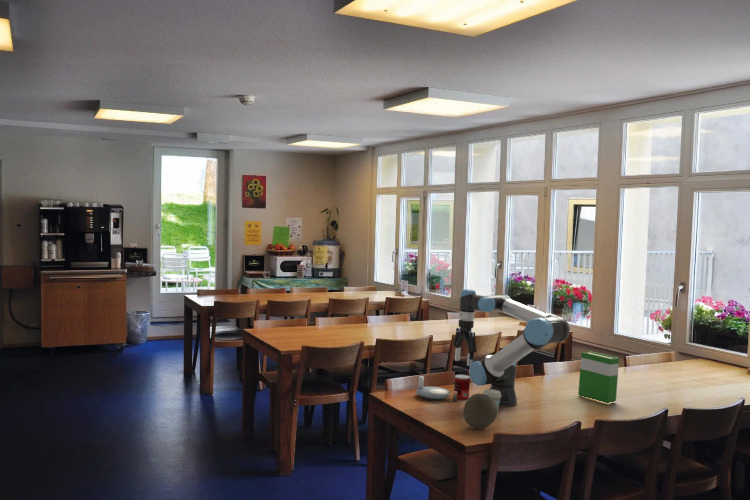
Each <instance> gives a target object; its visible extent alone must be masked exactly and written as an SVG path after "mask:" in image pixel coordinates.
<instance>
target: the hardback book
mask: <svg viewBox="0 0 750 500" xmlns="http://www.w3.org/2000/svg"><path fill="white" fill-rule="evenodd" d="M619 364H620V357H617V356H613V355H610V354H604V353H600V352H599V353H598V352H597V351H596V352H594V351H592V350H588V352H584V351H581V355H580V366H579V367H580V369H579V380H578V382H579V383H578V392H577V393H578V395H580V396H584V397H588V398H592V399H596V400H599V401H603V402H606V403H609V402H614V401H617V391H618V389H617V388H618V381H619V380H618V379H619V377H618V376H619ZM578 395H577V396H578Z"/></svg>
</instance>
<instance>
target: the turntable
mask: <svg viewBox="0 0 750 500" xmlns="http://www.w3.org/2000/svg"><path fill="white" fill-rule="evenodd" d="M424 380H425V376H422V375H419V377H418V387H417V388H416V389H415V391H416V392H415V394H416V395H418V396H419V397H422V398H423V397H426V398H433V399H442V400H444V399H447V398H451V397H452V394H451V392H450V391H451V390H448V389H446V388H443V387H438V386H424V382H425V381H424Z"/></svg>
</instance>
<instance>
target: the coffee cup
mask: <svg viewBox="0 0 750 500" xmlns="http://www.w3.org/2000/svg"><path fill="white" fill-rule="evenodd" d="M482 394H484V395H488V396H490V397H491V398H492V399H493V400H494V401H495V403H496V405H497V415H496V418H495V419H497V418H498V414H499V413H498V412H499V407H500V406H499V403H500V397H501V393H500V391H498V390H493V389H490V388H487V389H484V390H483V392H482Z"/></svg>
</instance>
